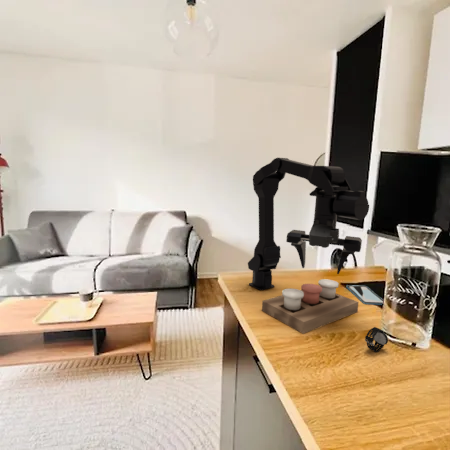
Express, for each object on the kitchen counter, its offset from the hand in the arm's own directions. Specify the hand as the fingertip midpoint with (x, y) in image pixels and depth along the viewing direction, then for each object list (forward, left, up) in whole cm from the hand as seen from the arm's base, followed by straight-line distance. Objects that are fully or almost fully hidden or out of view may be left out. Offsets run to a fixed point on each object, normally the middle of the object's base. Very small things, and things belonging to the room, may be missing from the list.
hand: (320, 270), depth 82 cm
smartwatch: (+19, -4, -13) cm, 23 cm away
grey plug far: (-2, +7, -9) cm, 12 cm away
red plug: (-2, -1, -9) cm, 9 cm away
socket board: (-2, -1, -12) cm, 13 cm away
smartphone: (0, +25, -13) cm, 28 cm away
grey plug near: (-2, -8, -9) cm, 13 cm away
